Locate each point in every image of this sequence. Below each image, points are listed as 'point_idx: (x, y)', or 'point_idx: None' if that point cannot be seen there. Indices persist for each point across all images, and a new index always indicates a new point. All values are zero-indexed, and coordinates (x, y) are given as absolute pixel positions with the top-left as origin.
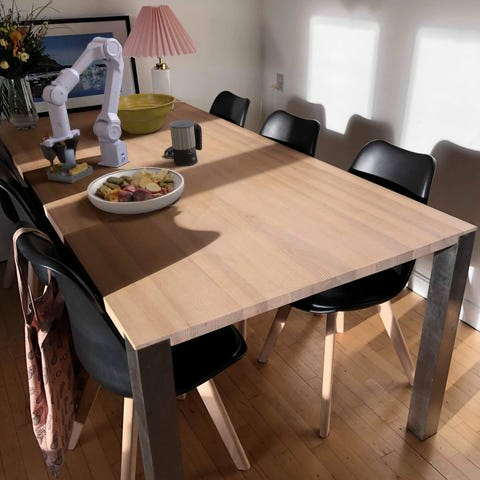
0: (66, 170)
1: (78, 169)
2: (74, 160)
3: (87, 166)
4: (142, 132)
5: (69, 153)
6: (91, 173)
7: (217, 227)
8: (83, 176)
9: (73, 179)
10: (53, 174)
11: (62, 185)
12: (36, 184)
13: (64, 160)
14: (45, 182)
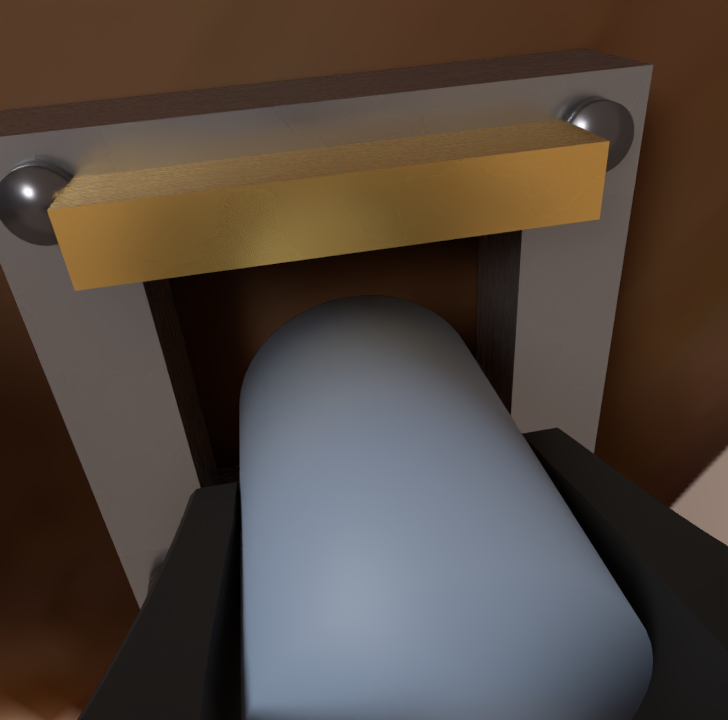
0: None
1: (376, 156)
2: (335, 384)
3: (72, 183)
4: None
5: (533, 537)
6: (58, 105)
7: None
8: (292, 81)
9: (566, 58)
10: (592, 432)
11: (694, 130)
12: (709, 447)
13: (594, 458)
14: (637, 417)
